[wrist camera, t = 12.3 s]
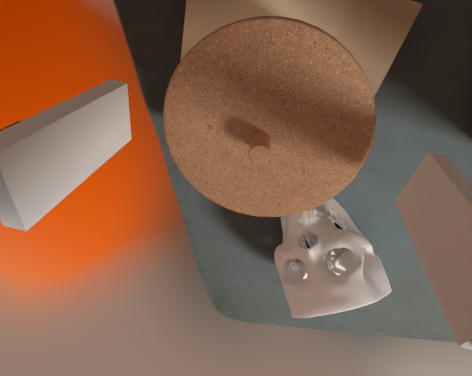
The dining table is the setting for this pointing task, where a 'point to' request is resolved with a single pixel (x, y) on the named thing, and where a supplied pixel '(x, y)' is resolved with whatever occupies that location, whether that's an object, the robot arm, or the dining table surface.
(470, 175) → the dining table surface
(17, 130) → the robot arm
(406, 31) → the beech block
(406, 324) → the dining table surface
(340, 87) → the lidded jar
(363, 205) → the dining table surface
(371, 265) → the skull bowl
